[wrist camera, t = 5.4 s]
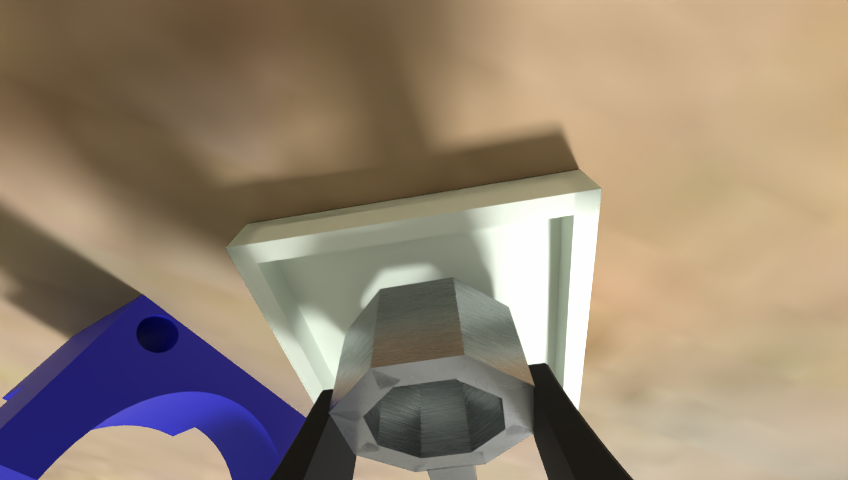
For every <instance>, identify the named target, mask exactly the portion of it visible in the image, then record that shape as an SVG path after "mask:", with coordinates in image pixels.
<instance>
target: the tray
mask: <svg viewBox="0 0 848 480" xmlns="http://www.w3.org/2000/svg"><path fill="white" fill-rule="evenodd" d="M601 192H602V188H601V187H600V186H598V185H597V184H596V183H595V182H594V181H593V180H592V179H590V178H589V177H588V176H587V175H586V174H585V173H584V172H582V171H581V170H574V171H568V172H562V173H555V174H549V175H543V176H537V177H531V178H525V179H519V180H513V181H507V182H500V183H494V184H488V185H482V186H476V187H470V188H464V189H458V190H452V191H445V192H439V193H433V194H427V195H421V196H415V197H409V198H403V199H397V200H390V201H384V202H378V203H372V204H366V205H360V206H354V207H348V208H342V209H335V210H329V211H323V212H317V213H311V214H305V215H299V216H293V217H287V218H280V219H274V220H268V221H262V222H256V223H250V224H246V225H245V227H244V228H243V229H242V230H241V231H240V232H239V233H238V234H237V235H236V236H235V238H234V239H233V240H232V241H231V242H230V243H229V244H228V245H227V246H226V248H225V249H226V251H227V252H228V254H229V256H230V258H231V259H232V261H233V263H234V265H235V266H236V268H237V270H238V272H239V273H240V275H241V277H242V279H243V280H244V282H245V284H246V286H247V287H248V289H249V291H250V293H251V294H252V296H253V298H254V300H255V301H256V303H257V305H258V307H259V308H260V310H261V312H262V314H263V315H264V317H265V319H266V321H267V322H268V324H269V326H270V328H271V329H272V331H273V333H274V335H275V336H276V338H277V340H278V342H279V343H280V345H281V347H282V349H283V350H284V352H285V354H286V356H287V357H288V359H289V361H290V363H291V364H292V366H293V368H294V370H295V371H296V373H297V375H298V377H299V378H300V380H301V382H302V384H303V385H304V387H305V389H306V391H307V392H308V394H309V396H310V398H311V399H312V401H313V403H314V404H315V402H316V400H317V398H318V397H319V395H320V393H321V392H322V391H323V390H328V389H334V385H335V380H336V375H337V371H338V366H339V361H340V357H341V352H342V347H343V343H344V338H345V334H346V331H347V330H348V328H349V327H350V326H351V325H352V323H353V322H354V321H355V320H356V318H357V317H358V316H359V315H360V313H361V312H362V311H363V310H364V308H365V307H366V306H367V305H368V303H369V302H370V301H371V300H372V298H373V297H374V296H375V295H376V293H377V292H378V291H379V290H380V289H383V288H389V287H395V286H401V285H407V284H414V283H420V282H426V281H432V280H438V279H445V278H451V277H454V278H456V279H457V280H459V281H461V282H463V283H465V284H467V285H469V286H471V287H472V288H474V289H476V290H478V291H480V292H482V293H484V294H486V295H487V296H489V297H491V298H493V299H495V300H497V301H499V302H500V303H502V304H504V305H506V306H508V307H509V309H510V312H511V315H512V318H513V321H514V324H515V327H516V330H517V333H518V336H519V339H520V342H521V345H522V348H523V351H524V355H525V358H526V361H527V364H528V365H532V364H540V363H546V364H548V365H549V367H550V369H551V371H552V372H553V374H554V376H555V377H556V379H557V380H558V382H559V384H560V385H561V387H562V388H563V390H564V391H565V393H566V394H567V396H568V397H569V398H570V400H571V401H572V403H573V404H574V406H575V407H576V408H577V410H579V400H580V391H581V381H582V372H583V362H584V353H585V343H586V334H587V324H588V315H589V305H590V296H591V286H592V277H593V267H594V258H595V248H596V239H597V229H598V220H599V211H600V201H601Z"/></svg>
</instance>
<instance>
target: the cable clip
mask: <svg viewBox="0 0 848 480" xmlns="http://www.w3.org/2000/svg"><path fill="white" fill-rule="evenodd" d="M3 399H5V400H7V402H6V403H5V404H4V405H3V406H2V407H0V480H38V479H39V478H40V477H41V476H42V475H43V473H44V472H45V471H46V470H47V469H48V468H49V467H50V466H51V465H52V464H53V463H54V462H55V461H56V460H57V459H58V458H59V457H60V456H61V455H62V454H63V453H64V452H65V451H66V450H67V449H68V448H70V447H71V446H72V445H73V444H74V443H75V442H76V441H78V440H79V439H80V438H81V437H83V436H84V435H85V434H86V433H88V432H89V431H90V430H93V429H97V428H103V427H109V426H120V425H133V426H143V427H149V428H153V429H156V430H160V431H162V432H165V433H167V434H169V435H171V436H175V435H177V434H179V433H182V432H184V431H187V430H189V429H191V428H194V427H196V428H197V429H199V430H200V431H201V432H203V433H204V434H205V435H206V436H208V438H209V439H210V440H211V441H212V442H213V443H214V444H215V445H216V447H217V448H218V449H219V451H220V452H221V454H222V456H223V458H224V459H225V461H226V464H227V466H228V468H229V471H230V474H231V477H232V480H269V479H270V478H271V476H272V475H273V473H274V472H275V470H276V469H277V467H278V465H279V464H280V462H281V460H282V459H283V457H284V455H285V454H286V452H287V451H288V449H289V447H290V446H291V444H292V442H293V441H294V439H295V437H296V435H297V434H298V432H299V430H300V429H301V427H302V425H303V423H304V422H305V420H306V417H304V416H303V415H302V414H300V413H299V412H298V411H296V410H295V409H294V408H292V407H291V406H290V405H288V404H287V403H286V402H284V401H283V400H282V399H281V398H279V397H278V396H277V395H275V394H274V393H273V392H271V391H270V390H269V389H267V388H266V387H265V386H263V385H262V384H261V383H259V382H258V381H257V380H255V379H254V378H253V377H251V376H250V375H249V374H247V373H246V372H245V371H244V370H242V369H241V368H240V367H238V366H237V365H236V364H234V363H233V362H232V361H230V360H229V359H228V358H226V357H225V356H224V355H222V354H221V353H220V352H218V351H217V350H216V349H214V348H213V347H212V346H211V345H209V344H208V343H207V342H205V341H204V340H203V339H201V338H200V337H199V336H197V335H196V334H195V333H193V332H192V331H191V330H189V329H188V328H187V327H185V326H184V325H183V324H181V323H180V322H179V321H177V320H176V319H175V318H174V317H172V316H171V315H170V314H168V313H167V312H166V311H164V310H163V309H162V308H160V307H159V306H158V305H156V304H155V303H154V302H152V301H151V300H150V299H148V298H147V297H146V296H144V295H141V296H140V297H138V298H136V299H134V300H133V301H131V302H129V303H128V304H126V305H124V306H123V307H121V308H119V309H118V310H116V311H114V312H113V313H111V314H109V315H108V316H106V317H104V318H103V319H101V320H99V321H98V322H96V323H94V324H93V325H91V326H89V327H88V328H86V329H84V330H83V331H81V332H79V333H78V334H76V335H74V336H73V337H72V338H70V339H69V340H68V341H67V342H66V343H65V344H64V345H62V346H61V347H60V348H59V349H58V350H57V351H56V352H54V353H53V354H52V355H51V356H50V357H49V358H48V359H46V360H45V361H44V362H43V363H42V364H41V365H40V366H38V367H37V368H36V369H35V370H34V371H33V372H32V373H30V374H29V375H28V376H27V377H26V378H25V379H23V380H22V381H21V382H20V383H19V384H18V385H17V386H15V387H14V388H13V389H12V390H11V391H10V392H9V393H7V394H6V395H5V396H4V397H3Z"/></svg>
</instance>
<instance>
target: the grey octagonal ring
mask: <svg viewBox="0 0 848 480" xmlns="http://www.w3.org/2000/svg"><path fill="white" fill-rule="evenodd" d="M534 389H535V385H534V382H533V379H532V376H531V373H530V370H529V367H528V364H527V361H526V358H525V355H524V351H523V348H522V345H521V342H520V339H519V336H518V333H517V330H516V327H515V324H514V321H513V318H512V315H511V312H510V309H509V307H508V306H506V305H504V304H502V303H500V302H499V301H497V300H495V299H493V298H491V297H489V296H487V295H486V294H484V293H482V292H480V291H478V290H476V289H474V288H472V287H471V286H469V285H467V284H465V283H463V282H461V281H459V280H457V279H456V278H454V277H451V278H445V279H438V280H432V281H426V282H420V283H414V284H407V285H401V286H395V287H389V288H383V289H380V290H379V291H378V292H377V293H376V295H375V296H374V297H373V298H372V300H371V301H370V302H369V303H368V305H367V306H366V307H365V308H364V310H363V311H362V312H361V313H360V315H359V316H358V317H357V318H356V320H355V321H354V322H353V323H352V325H351V326H350V327H349V328H348V330H347V331H346V334H345V338H344V343H343V347H342V352H341V357H340V361H339V366H338V371H337V375H336V380H335V385H334V389H333V394H332V399H331V403H330V408H329V413H328V414H329V415H331V417H332V418H333V420H334V422H335V423H336V425H337V426H338V428H339V430H340V431H341V433H342V435H343V436H344V438H345V440H346V441H347V443H348V445H349V446H350V448H351V450H352V451H353V453H354V454H355V455H358V456H361V457H365V458H368V459H372V460H375V461H379V462H382V463H386V464H389V465H393V466H396V467H400V468H403V469H407V470H410V471H414V472H421V471H427V472H428V474H429V477H430V479H431V480H477V474H476V467H475V465H482V464H486V463H488V462H489V461H491V460H492V459H494V458H496V457H497V456H499V455H500V454H502V453H503V452H505V451H507V450H508V449H510V448H511V447H513V446H514V445H516V444H518V443H519V442H521V441H522V440H524V439H525V438H527V437H529V436H530V435H532V434H533V433H534Z"/></svg>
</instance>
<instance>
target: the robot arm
mask: <svg viewBox="0 0 848 480" xmlns="http://www.w3.org/2000/svg"><path fill="white" fill-rule="evenodd" d="M528 367H529V370H530V373H531V376H532V379H533V382H534V385H535V389H534V433H533V434H534V438H535V441H536V444H537V447H538V450H539V453H540V456H541V459H542V462H543V465H544V468H545V471H546V474H547V477H548V480H633V479H632V478H631V476H630V475H629V474H628V473H627V472H626V471H625V470H624V468H623V467H622V466H621V465H620V464H619V462H618V461H617V460H616V459H615V458H614V456H613V455H612V454H611V453H610V452H609V450H608V449H607V448H606V447H605V445H604V444H603V443H602V442H601V440H600V439H599V438H598V436H597V435H596V434H595V432H594V431H593V430H592V429H591V427H590V426H589V425H588V423H587V422H586V421H585V419H584V418H583V417H582V415H581V414H580V413H579V411H578V410H577V408H576V407H575V406H574V404H573V403H572V401H571V400H570V398H569V397H568V396H567V394H566V393H565V391H564V390H563V388H562V387H561V385H560V384H559V382H558V380H557V379H556V377H555V376H554V374H553V372H552V371H551V369H550V367H549V365H548V364H546V363H540V364H532V365H528ZM332 394H333V389H328V390H323V391H322V392H321V393H320V395H319V397H318V398H317V400H316V402H315V404H314V406H313V407H312V409H311V411H310V413H309V415H308V416H307V418H306V420H305V422H304V423H303V425H302V427H301V429H300V430H299V432H298V434H297V435H296V437H295V439H294V441H293V442H292V444H291V446H290V447H289V449H288V451H287V452H286V454H285V455H284V457H283V459H282V460H281V462H280V464H279V465H278V467H277V469H276V470H275V472H274V473H273V475H272V476H271V478H270V479H269V480H352V479H353V474H354V468H355V462H356V455H355V454H354V453H353V451H352V450H351V448H350V446H349V445H348V443H347V441H346V440H345V438H344V436H343V435H342V433H341V431H340V430H339V428H338V426H337V425H336V423H335V422H334V420H333V418H332V417H331V415H329V414H328V413H329V408H330V403H331V399H332Z"/></svg>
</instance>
